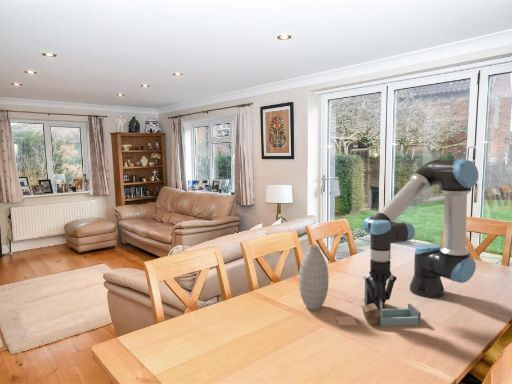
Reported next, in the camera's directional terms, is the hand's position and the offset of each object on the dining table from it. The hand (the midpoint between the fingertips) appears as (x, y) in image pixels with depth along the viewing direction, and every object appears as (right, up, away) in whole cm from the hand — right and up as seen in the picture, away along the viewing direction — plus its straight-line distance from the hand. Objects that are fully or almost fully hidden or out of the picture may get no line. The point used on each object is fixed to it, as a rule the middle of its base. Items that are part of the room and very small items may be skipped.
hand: (379, 316), depth 142 cm
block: (-2, -2, 0) cm, 3 cm away
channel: (+6, -2, +1) cm, 7 cm away
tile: (-13, -2, 0) cm, 14 cm away
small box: (+2, -1, +16) cm, 16 cm away
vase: (-24, -1, +14) cm, 28 cm away
